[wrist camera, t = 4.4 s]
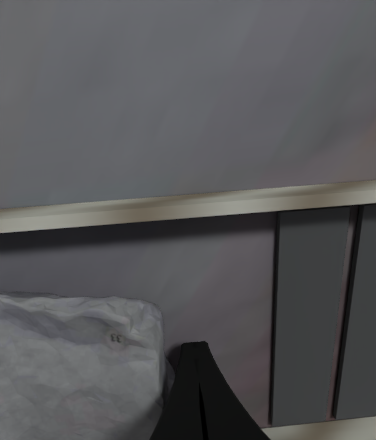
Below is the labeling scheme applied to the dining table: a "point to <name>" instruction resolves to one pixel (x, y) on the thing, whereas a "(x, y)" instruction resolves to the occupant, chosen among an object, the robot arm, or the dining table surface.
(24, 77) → the dining table surface
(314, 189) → the grey cream flat frame
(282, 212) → the tiles
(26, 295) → the stone block
